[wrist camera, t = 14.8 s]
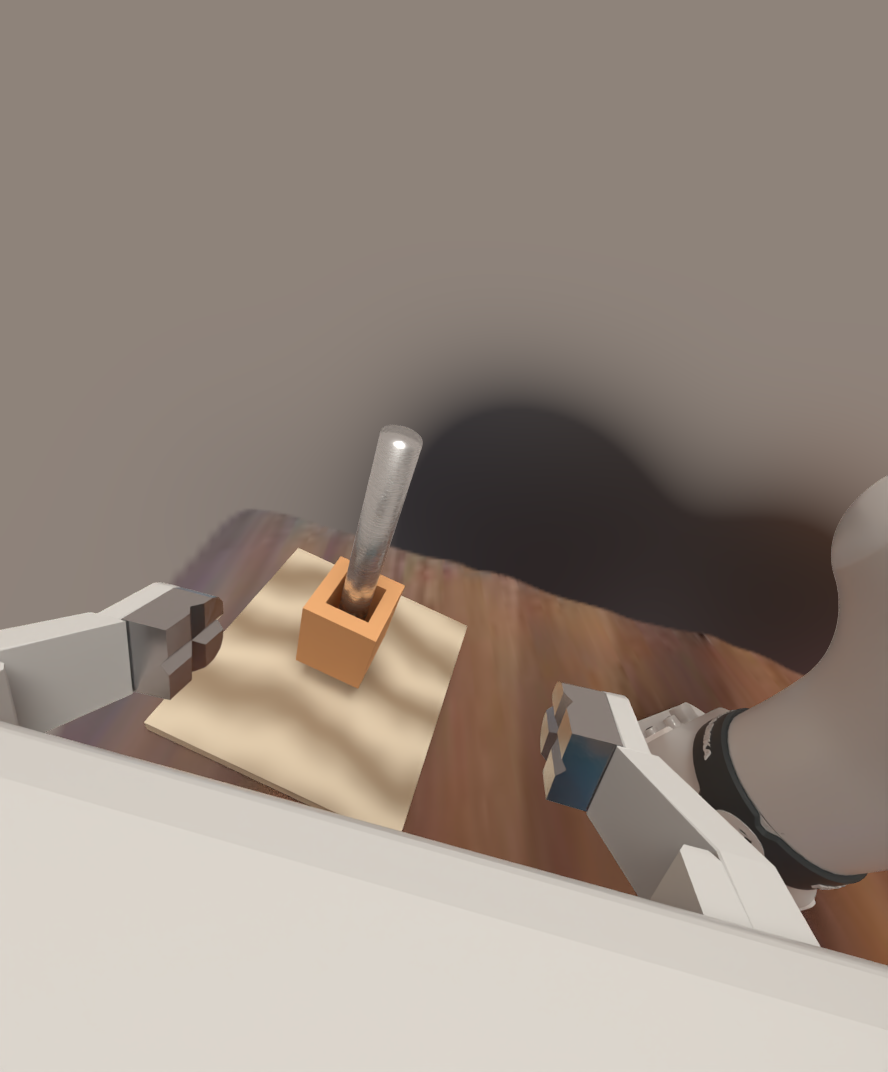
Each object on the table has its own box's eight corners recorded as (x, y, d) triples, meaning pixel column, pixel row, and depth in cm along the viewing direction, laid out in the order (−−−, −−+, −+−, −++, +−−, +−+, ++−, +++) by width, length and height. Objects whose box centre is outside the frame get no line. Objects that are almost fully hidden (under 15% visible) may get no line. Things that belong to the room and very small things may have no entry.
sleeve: (358, 688, 36) (376, 641, 30) (295, 659, 36) (302, 607, 30) (385, 635, 40) (405, 585, 35) (329, 609, 40) (341, 556, 35)
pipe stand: (394, 845, 33) (398, 842, 32) (147, 729, 33) (144, 722, 32) (462, 632, 49) (467, 626, 48) (297, 556, 50) (298, 547, 49)
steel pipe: (344, 683, 39) (416, 460, 22) (317, 670, 39) (366, 437, 22) (357, 658, 41) (433, 437, 24) (331, 646, 41) (388, 416, 24)
